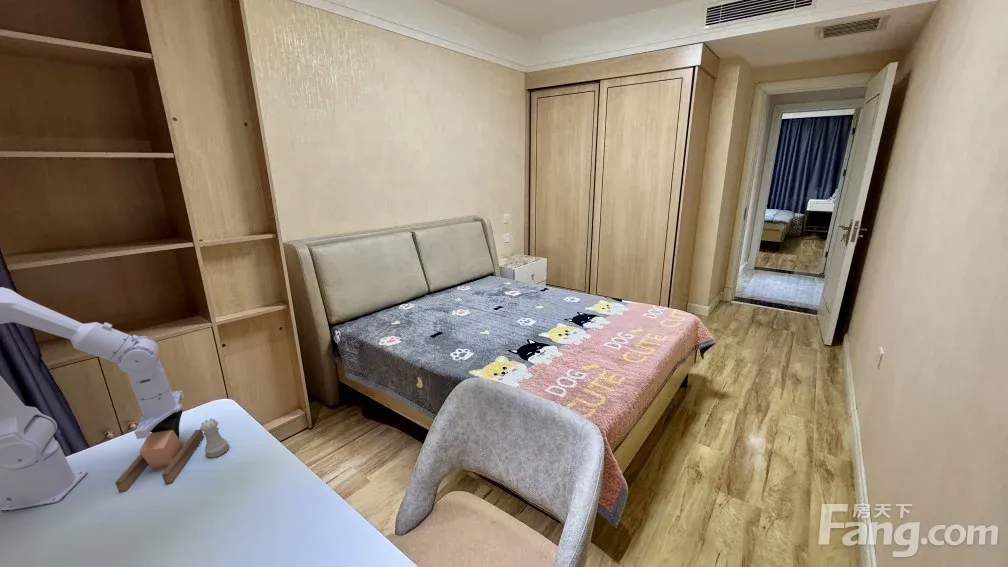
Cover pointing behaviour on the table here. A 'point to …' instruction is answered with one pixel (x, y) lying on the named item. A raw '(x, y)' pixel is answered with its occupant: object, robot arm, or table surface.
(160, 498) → the table surface
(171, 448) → the terracotta block
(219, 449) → the rook chess piece
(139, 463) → the walnut channel
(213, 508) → the table surface
